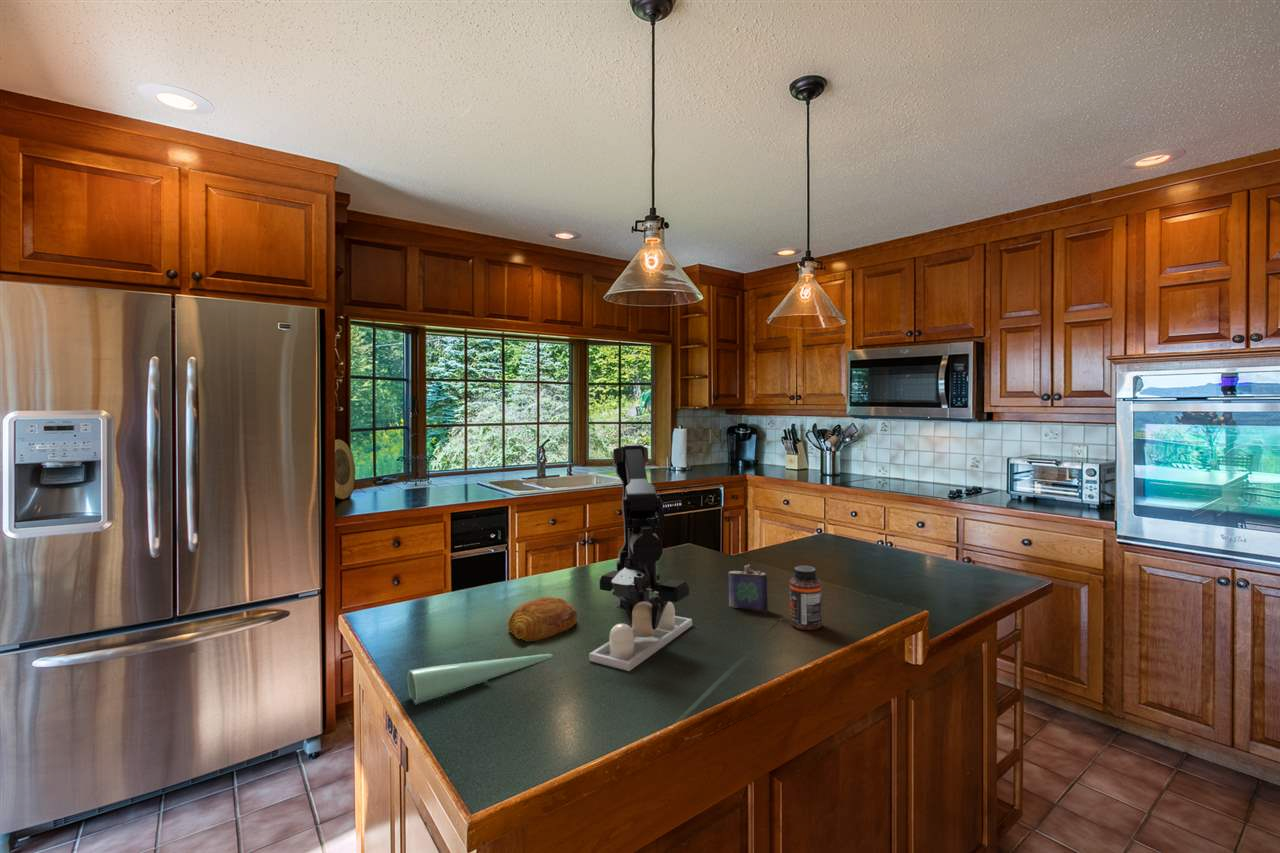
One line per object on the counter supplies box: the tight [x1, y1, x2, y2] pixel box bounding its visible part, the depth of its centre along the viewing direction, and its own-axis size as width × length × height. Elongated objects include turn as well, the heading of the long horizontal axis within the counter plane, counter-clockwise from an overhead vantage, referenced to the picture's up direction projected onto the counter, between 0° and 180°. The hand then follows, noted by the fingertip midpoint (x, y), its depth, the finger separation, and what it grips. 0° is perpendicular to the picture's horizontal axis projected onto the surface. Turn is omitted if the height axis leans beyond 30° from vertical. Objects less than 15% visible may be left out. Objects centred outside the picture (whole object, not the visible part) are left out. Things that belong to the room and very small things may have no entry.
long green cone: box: [407, 653, 554, 703], centre depth 106 cm, size 5×6×27 cm
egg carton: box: [588, 615, 693, 672], centre depth 120 cm, size 9×26×2 cm, turn 148°
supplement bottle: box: [789, 565, 823, 631], centre depth 128 cm, size 7×7×13 cm
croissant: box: [507, 597, 578, 642], centre depth 130 cm, size 14×16×8 cm
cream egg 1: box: [608, 623, 635, 661], centre depth 113 cm, size 5×5×6 cm
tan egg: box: [631, 602, 656, 637], centre depth 120 cm, size 5×5×6 cm
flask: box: [727, 564, 769, 612], centre depth 140 cm, size 9×3×11 cm, turn 71°
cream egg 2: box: [657, 602, 676, 631], centre depth 127 cm, size 5×5×6 cm
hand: (644, 626), depth 120 cm, fingers closed on tan egg, 5 cm apart
